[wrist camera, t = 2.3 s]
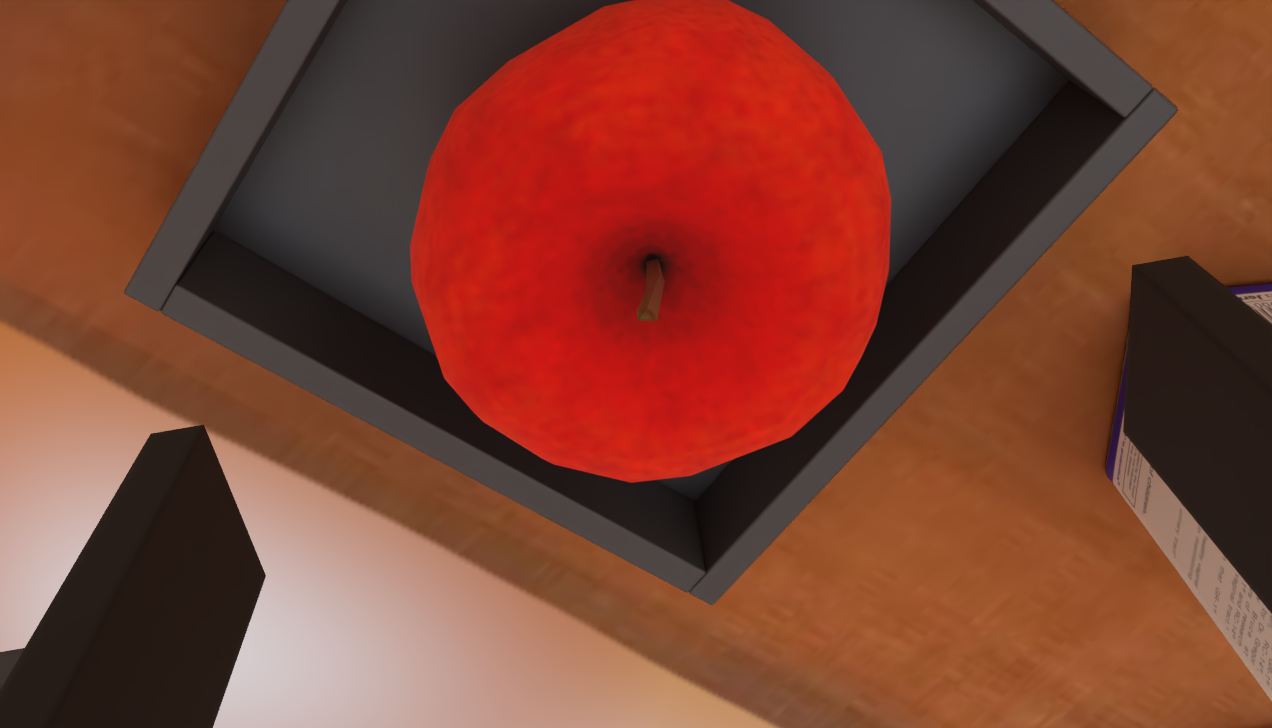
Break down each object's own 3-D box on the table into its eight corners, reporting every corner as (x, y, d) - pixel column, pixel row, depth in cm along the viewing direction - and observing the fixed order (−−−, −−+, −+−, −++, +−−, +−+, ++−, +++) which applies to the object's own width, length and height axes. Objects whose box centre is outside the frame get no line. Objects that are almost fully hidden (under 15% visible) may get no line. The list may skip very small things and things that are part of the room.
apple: (595, -142, 23) (609, -88, 16) (909, 111, 26) (1034, 247, 19) (366, 198, 26) (296, 364, 19) (668, 389, 29) (701, 591, 22)
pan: (173, 227, 27) (122, 293, 24) (539, -418, 21) (535, -444, 18) (698, 521, 32) (712, 607, 29) (1107, 64, 26) (1181, 109, 23)
